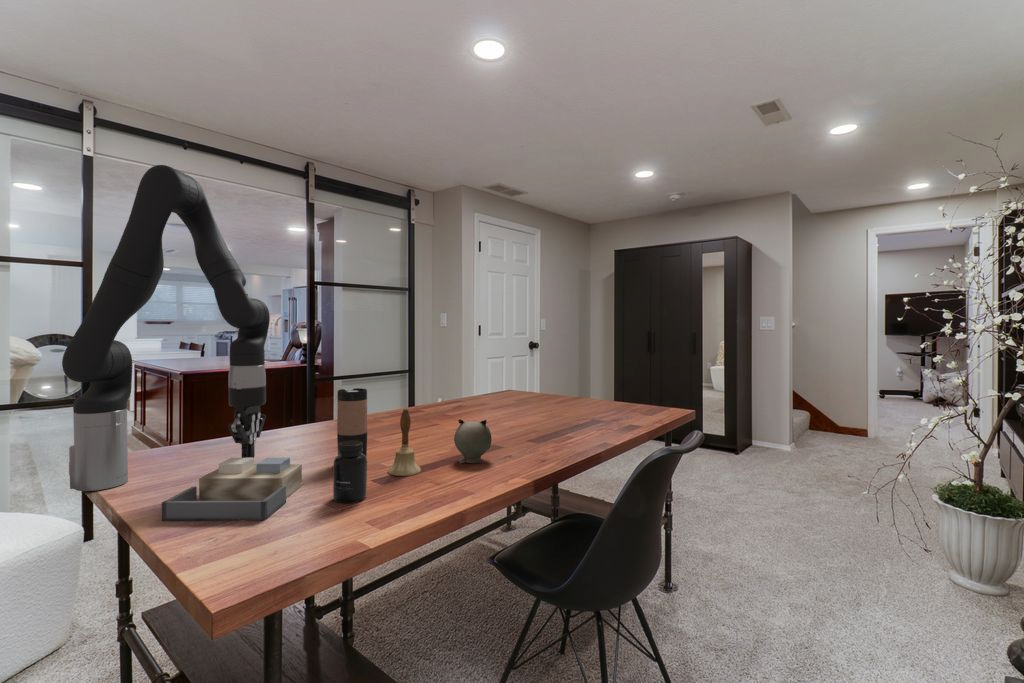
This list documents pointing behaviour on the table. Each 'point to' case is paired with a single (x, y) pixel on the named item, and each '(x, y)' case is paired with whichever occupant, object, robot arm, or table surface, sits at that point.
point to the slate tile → (273, 465)
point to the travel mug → (352, 417)
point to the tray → (220, 507)
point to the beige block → (236, 465)
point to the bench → (248, 484)
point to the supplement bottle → (350, 473)
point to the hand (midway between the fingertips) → (248, 459)
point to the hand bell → (404, 452)
